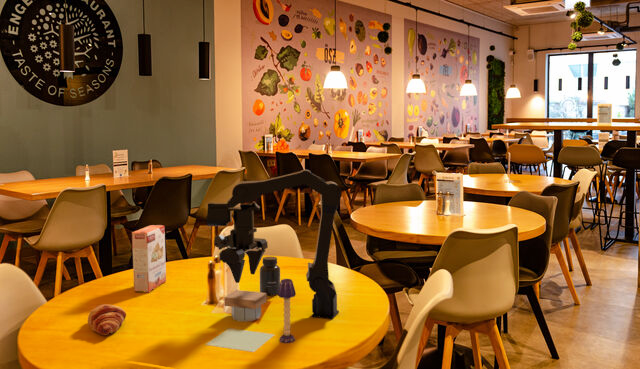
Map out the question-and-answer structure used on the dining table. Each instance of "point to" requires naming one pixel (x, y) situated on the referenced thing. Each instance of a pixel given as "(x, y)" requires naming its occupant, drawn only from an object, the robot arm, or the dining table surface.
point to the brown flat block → (245, 299)
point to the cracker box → (149, 257)
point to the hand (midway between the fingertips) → (245, 278)
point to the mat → (240, 340)
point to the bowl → (245, 313)
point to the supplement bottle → (269, 276)
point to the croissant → (106, 319)
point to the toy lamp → (286, 308)
